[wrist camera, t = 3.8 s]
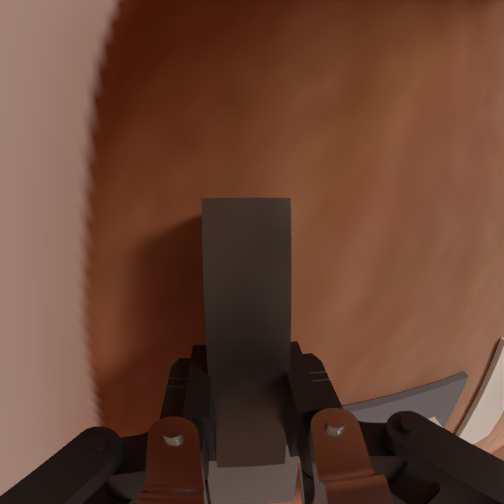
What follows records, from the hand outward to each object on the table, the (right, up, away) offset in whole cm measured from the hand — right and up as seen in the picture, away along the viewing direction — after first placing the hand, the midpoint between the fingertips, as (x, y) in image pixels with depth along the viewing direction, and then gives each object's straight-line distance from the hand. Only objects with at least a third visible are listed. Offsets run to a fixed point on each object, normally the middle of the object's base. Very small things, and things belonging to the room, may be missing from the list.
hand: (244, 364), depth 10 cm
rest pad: (+22, -9, +7) cm, 25 cm away
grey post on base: (0, 0, +1) cm, 1 cm away
